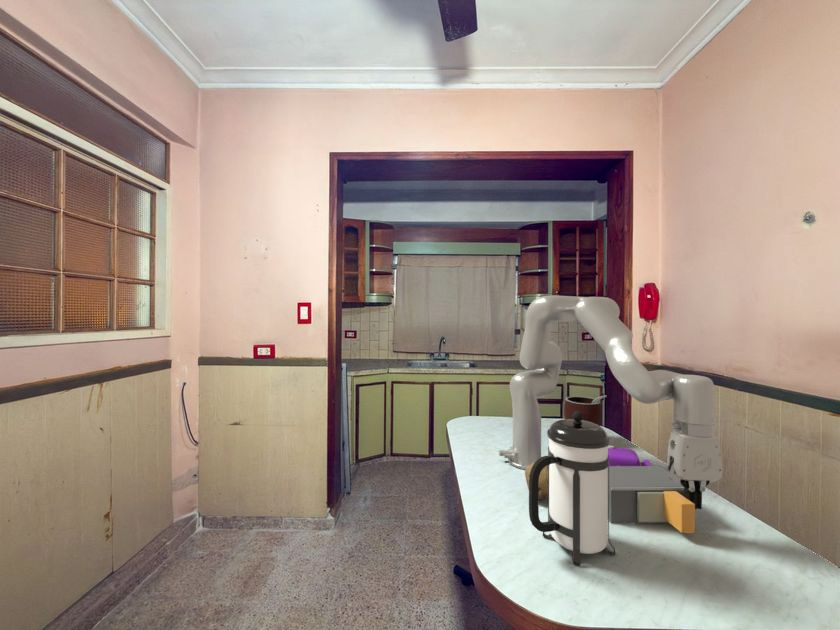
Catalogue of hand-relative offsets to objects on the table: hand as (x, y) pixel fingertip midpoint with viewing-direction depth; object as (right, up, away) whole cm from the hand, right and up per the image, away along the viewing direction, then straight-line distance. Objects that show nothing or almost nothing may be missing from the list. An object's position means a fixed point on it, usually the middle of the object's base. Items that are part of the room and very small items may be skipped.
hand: (693, 505), depth 84 cm
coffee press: (-30, -7, -5) cm, 31 cm away
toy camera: (-1, -7, +25) cm, 26 cm away
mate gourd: (+2, -7, +59) cm, 60 cm away
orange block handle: (-6, -6, 0) cm, 8 cm away
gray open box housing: (-8, -7, +10) cm, 14 cm away
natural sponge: (-30, -7, +16) cm, 35 cm away
